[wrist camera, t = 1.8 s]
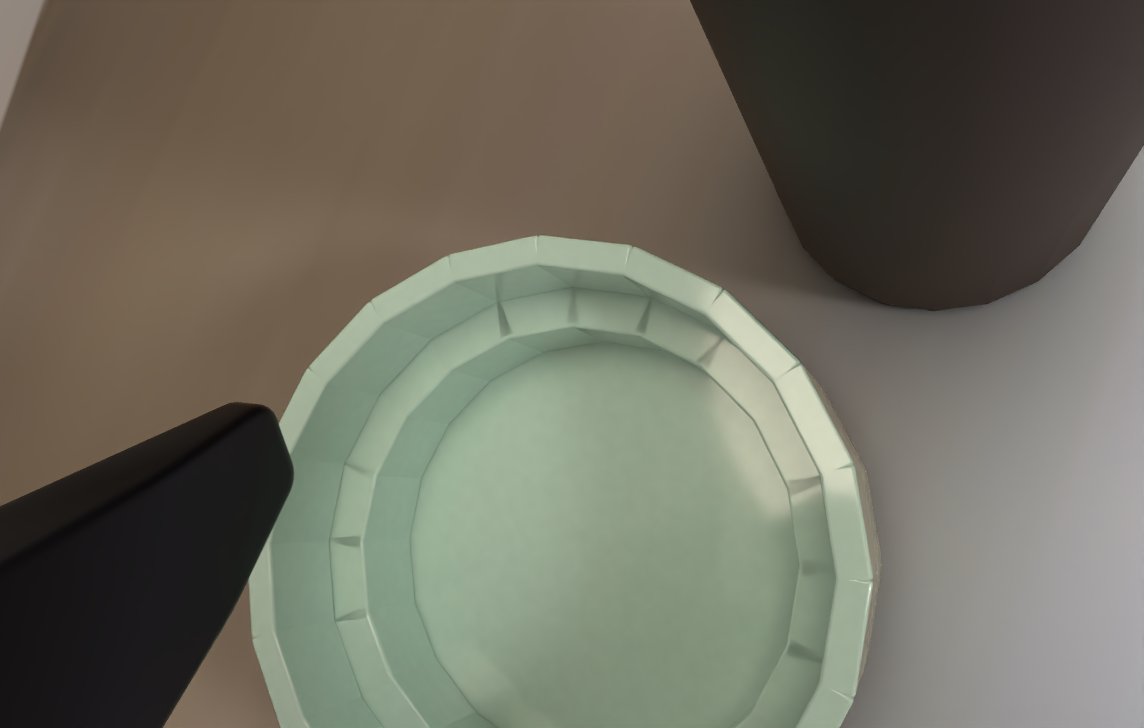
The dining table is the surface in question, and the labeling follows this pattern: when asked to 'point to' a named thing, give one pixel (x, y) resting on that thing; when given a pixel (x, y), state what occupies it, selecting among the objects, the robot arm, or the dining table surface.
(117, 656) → the robot arm
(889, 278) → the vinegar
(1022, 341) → the dining table surface
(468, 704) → the basin
